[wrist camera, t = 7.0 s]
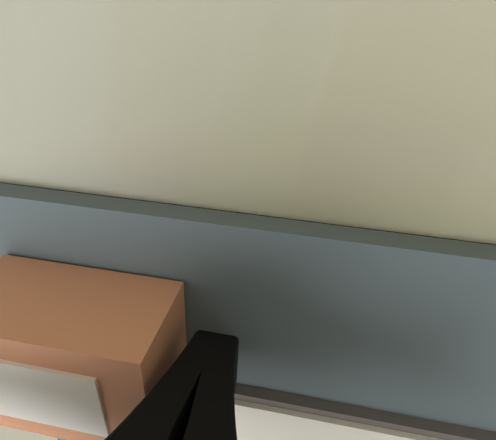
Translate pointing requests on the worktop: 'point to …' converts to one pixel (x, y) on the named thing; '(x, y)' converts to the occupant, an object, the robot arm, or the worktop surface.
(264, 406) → the ticket
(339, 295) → the mat
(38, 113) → the worktop surface
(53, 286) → the stub
